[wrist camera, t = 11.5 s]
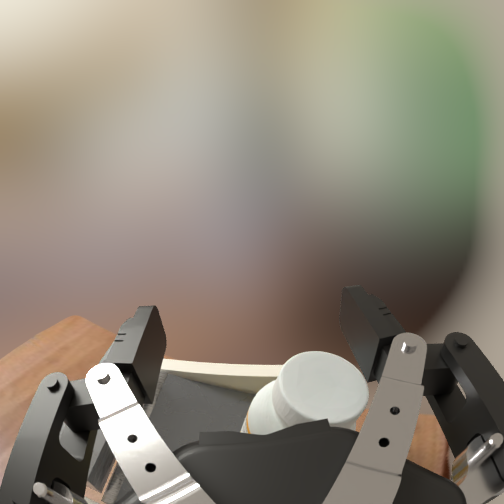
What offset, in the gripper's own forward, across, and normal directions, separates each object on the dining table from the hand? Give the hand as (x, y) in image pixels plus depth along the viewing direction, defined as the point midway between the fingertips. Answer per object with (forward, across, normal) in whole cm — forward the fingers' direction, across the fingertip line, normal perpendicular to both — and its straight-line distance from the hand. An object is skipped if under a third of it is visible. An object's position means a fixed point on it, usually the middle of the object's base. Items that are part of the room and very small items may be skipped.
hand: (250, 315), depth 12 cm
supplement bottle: (-2, 0, +12) cm, 12 cm away
